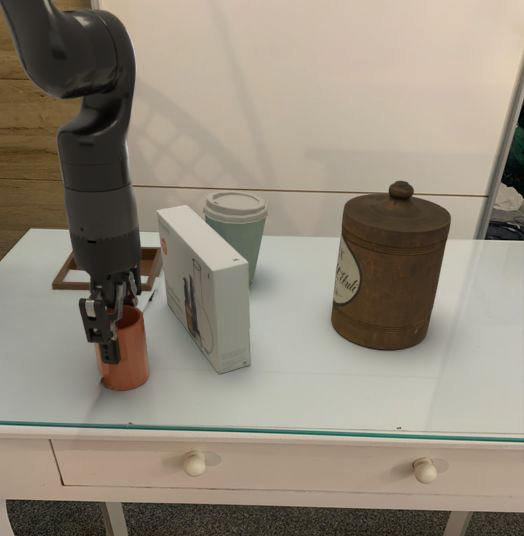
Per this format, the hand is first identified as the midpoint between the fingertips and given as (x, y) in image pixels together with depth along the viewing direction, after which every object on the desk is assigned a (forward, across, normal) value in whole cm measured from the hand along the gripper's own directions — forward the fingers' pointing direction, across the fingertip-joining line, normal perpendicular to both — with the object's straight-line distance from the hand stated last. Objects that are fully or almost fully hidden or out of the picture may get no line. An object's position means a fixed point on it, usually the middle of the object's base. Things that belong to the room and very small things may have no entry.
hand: (121, 346), depth 71 cm
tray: (+5, -26, -11) cm, 29 cm away
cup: (+5, 0, 0) cm, 5 cm away
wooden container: (+5, -19, +34) cm, 39 cm away
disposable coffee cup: (+5, -29, +10) cm, 31 cm away
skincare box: (+5, -12, +8) cm, 15 cm away
